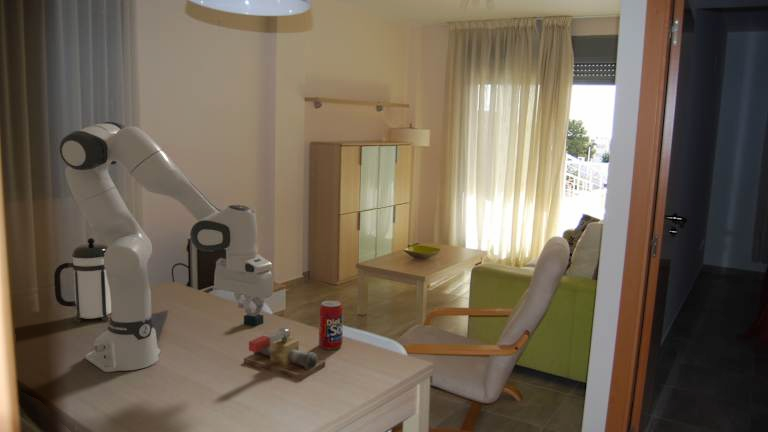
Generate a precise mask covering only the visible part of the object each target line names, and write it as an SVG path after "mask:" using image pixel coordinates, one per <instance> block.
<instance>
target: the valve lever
mask: <svg viewBox="0 0 768 432" xmlns="http://www.w3.org/2000/svg"><path fill="white" fill-rule="evenodd" d="M287 337H288V338H290V337H291V328H289V327H280V328H279V329H278V330H277V331H276V332H275V331H274V332H273V333H271V334H268V335H261V336H259V337H256V338H254V339H252V340H250V341H248V351H249V352H253V353H254V352H258V351H260V350H262V349H265V348H267V347H269V346H270V344H271V343H273V342H275V341H277V340H280V339H282V338H287Z"/></svg>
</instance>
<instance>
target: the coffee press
mask: <svg viewBox="0 0 768 432" xmlns="http://www.w3.org/2000/svg"><path fill="white" fill-rule="evenodd" d="M107 248H108V246H107V244H102V243H95V239H94V238H93V237H92V238H91V237H90V238H88V239H87V243H86V244H81V245H78V246H76V247H75V248H74V249H73V251H72V253H71V257H72V262H64V263H61V264H59V265H58V266H57V267H56V269H55V271H54V276H53V277H54V280H53V281H54V295H55V300H56V302H57V303H58V304H60V305H61V306H63V307H74V308H75V314H76V316H75V317H74V319H73V322H74V323H76V324H80V323H81V321H83V320H84V319H88V320H89V319H99V318H100V319H101V320H102V322H103V323H105V322H106V321H108V320H110V319H107V318H109V316H108V315H110V314H111V297H110V289H109V285H108V280H107V275H106V269H105V267H104V255H105V252H106V250H107ZM69 268H72V270H73V281H74V282H73V283H74V301H73V300H72V301H68V300H65V299H64V298H63V296H62V283H61V273H62V270H65V269H69ZM106 323H107V322H106Z"/></svg>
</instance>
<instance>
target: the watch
mask: <svg viewBox="0 0 768 432" xmlns="http://www.w3.org/2000/svg"><path fill="white" fill-rule="evenodd" d="M251 301H252V303H253V304H254V305H255V307H256V308H255V310H254V311H252V308H251V306H250V305H251ZM264 303H265V299H261V298H257V297H252V298H251V300H250V302H249V308H248V309H244V311H245V313H246V314H245V315H243V325H246V324H247V326H250V325H251V327H255V326H257V327H258V325H259V326H261V325H263V324H264V315H263V314H260V313H261V311H262V309H263V308H264ZM260 324H261V325H260Z"/></svg>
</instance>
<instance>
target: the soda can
mask: <svg viewBox="0 0 768 432" xmlns="http://www.w3.org/2000/svg"><path fill="white" fill-rule="evenodd" d="M320 304H321V305H320V306H319V308H318V346H320V348H323V349H324V350H336V349H338V348H340V347H341V346H342V345H343V331H344V328H343V327H344V326H343V323H344V322H343V321H344V307H343V306H342V302H340V301H339V300H325V301H322V302H321V303H320Z"/></svg>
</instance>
